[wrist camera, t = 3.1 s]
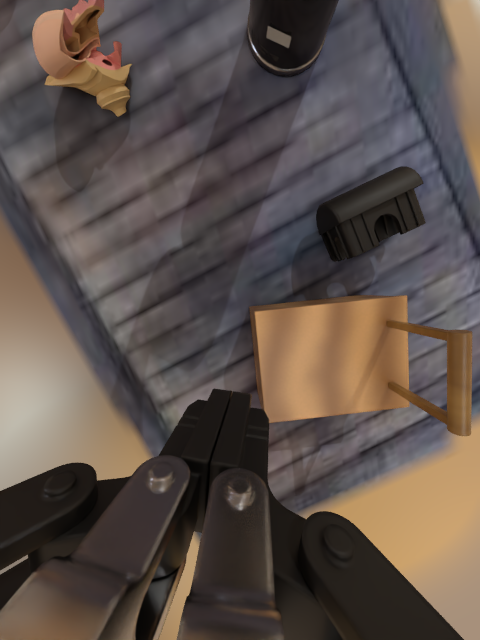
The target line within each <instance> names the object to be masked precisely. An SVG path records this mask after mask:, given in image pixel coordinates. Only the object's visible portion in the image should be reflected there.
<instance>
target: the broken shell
mask: <svg viewBox="0 0 480 640" xmlns="http://www.w3.org/2000/svg"><path fill="white" fill-rule="evenodd" d="M103 12H104V0H88V3H87V2H86V1H83V0H79V2H78V4H77V5H76V6H74V7H73V8H72V11H71V10H69V9H65V8H64V10H53V11H48V12H45V13H43V14H42V15H41V16H39V18H38V19H37V20H36V22H35V25H34V28H33V33H32V34H33V45H34V49H35V53H36V56H37V59H38V61H39V63H40V65H41V66H42V68H43V69H44V70H45V71H46V72H47V73H48V74H49V76H48V77H47V79H46V82H45V85H51V86H64V87H76V88H78V89H80V90H82V91H84V92H87V93H89V94H91V95H93V96H96V97H97V104H98V105H100V106H101V108H102V109H108V110H111V111H113V112H114V113H115V114H116V116H117V117H119V116H121V115H122V114H124V113H125V112H126V103H127V101H128V99H129V98H130V92H129V90H128V88H127V87H126V86H125V83H126V80H127V77H128V73H129V69H130V66H131V65H132V64H129V65H126V66H123V67H121V49H122V45H121V43H120V42H117V41H115V42H113V43H114V50H115V51H114V52H113V53H112V54H110V55H109V56H104V55H103V54H102V53H101V52H99V51H97V50H96V47H100V39H99V30H98V25H97V19H98V18H99V17H100V16H101V14H102V13H103Z"/></svg>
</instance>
